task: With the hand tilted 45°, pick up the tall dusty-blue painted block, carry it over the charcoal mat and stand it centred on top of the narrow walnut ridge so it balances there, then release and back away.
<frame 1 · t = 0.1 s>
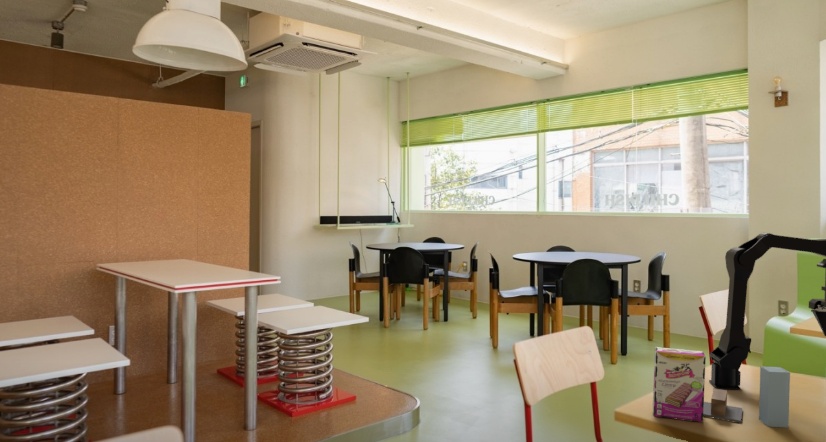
mat: (718, 412, 145), on the table
ridge: (719, 402, 145), on the mat, point 3 cm above the table
candy bar box: (677, 417, 142), on the table
block: (773, 423, 138), on the table
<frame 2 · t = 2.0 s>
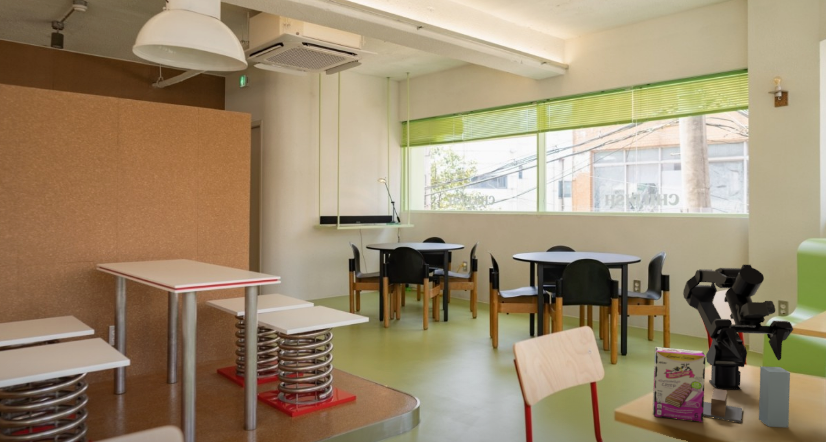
hand: (760, 358, 145), 13 cm above the table, tool tilted 45°, fingers open, 9 cm apart
nothing on the table moved.
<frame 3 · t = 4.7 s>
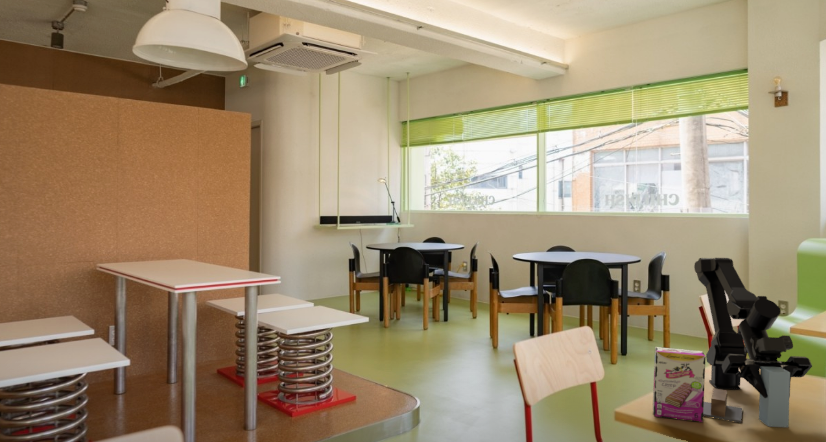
hand: (777, 397, 136), 7 cm above the table, tool tilted 45°, fingers closed on block, 4 cm apart
block: (773, 423, 138), on the table, touching gripper
everything else where it was.
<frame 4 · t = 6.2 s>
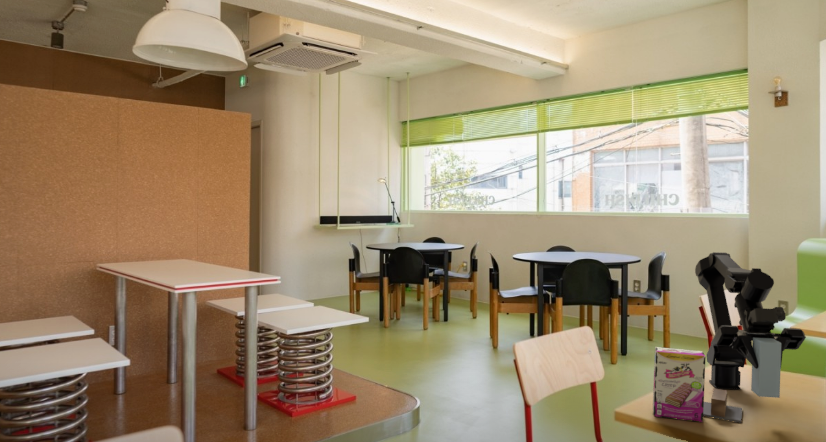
hand: (768, 368, 137), 13 cm above the table, tool tilted 45°, fingers closed on block, 4 cm apart
block: (765, 393, 139), point 7 cm above the table, touching gripper
everything else where it was.
when the fingers open (11 cm above the table, at t = 7.8 s): block stays where it is, resting on ridge.
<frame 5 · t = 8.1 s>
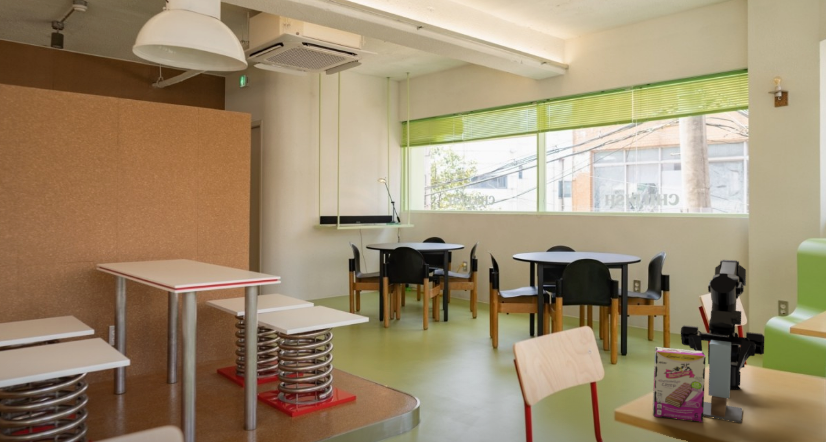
hand: (719, 368, 143), 12 cm above the table, tool tilted 45°, fingers open, 8 cm apart
block: (719, 394, 145), point 5 cm above the table, touching ridge
everything else where it was.
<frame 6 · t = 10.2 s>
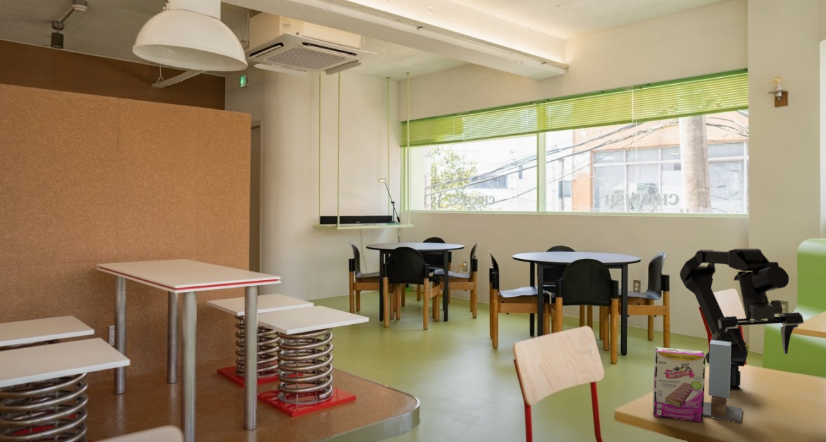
hand: (765, 354, 149), 13 cm above the table, tool tilted 20°, fingers open, 9 cm apart
nothing on the table moved.
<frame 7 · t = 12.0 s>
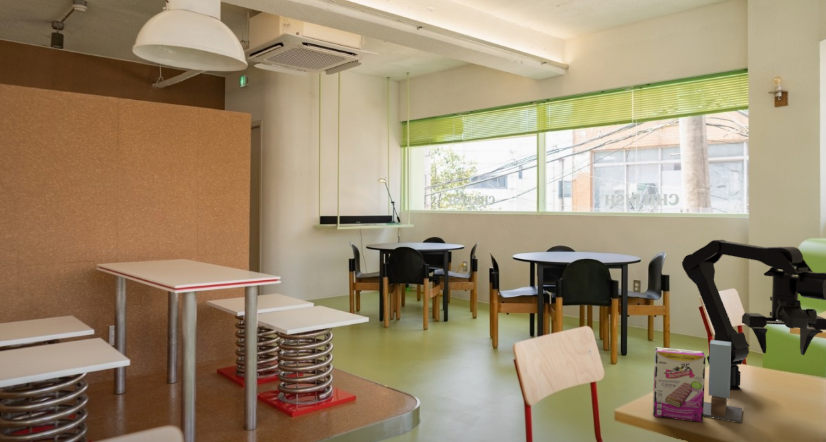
hand: (783, 353, 152), 13 cm above the table, tool pointing down, fingers open, 9 cm apart
nothing on the table moved.
at the end: block inside the target area on the ridge (0.1 cm from its centre), point 4.6 cm above the ridge's base; block tilted 0°; the gripper is holding nothing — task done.
